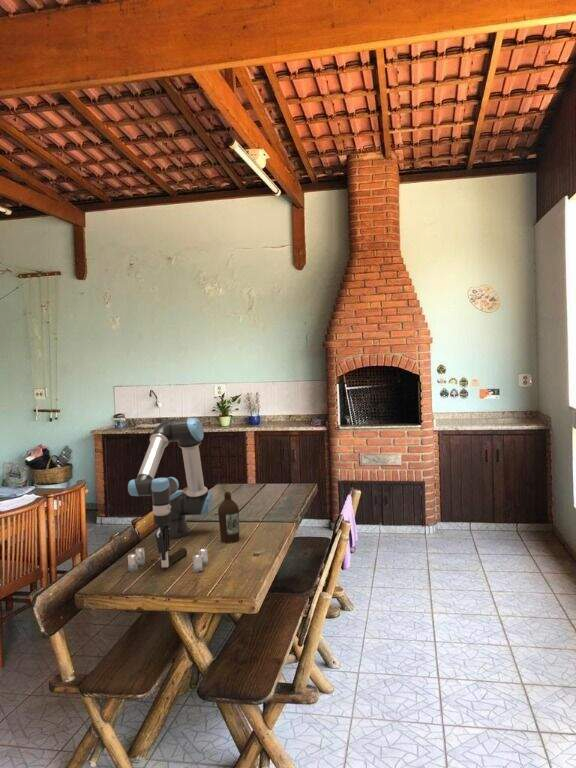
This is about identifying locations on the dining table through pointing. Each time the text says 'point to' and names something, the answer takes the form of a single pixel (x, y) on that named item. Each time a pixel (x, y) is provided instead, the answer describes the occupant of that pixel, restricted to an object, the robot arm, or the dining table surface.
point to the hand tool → (176, 556)
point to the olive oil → (228, 519)
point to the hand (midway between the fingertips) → (165, 566)
